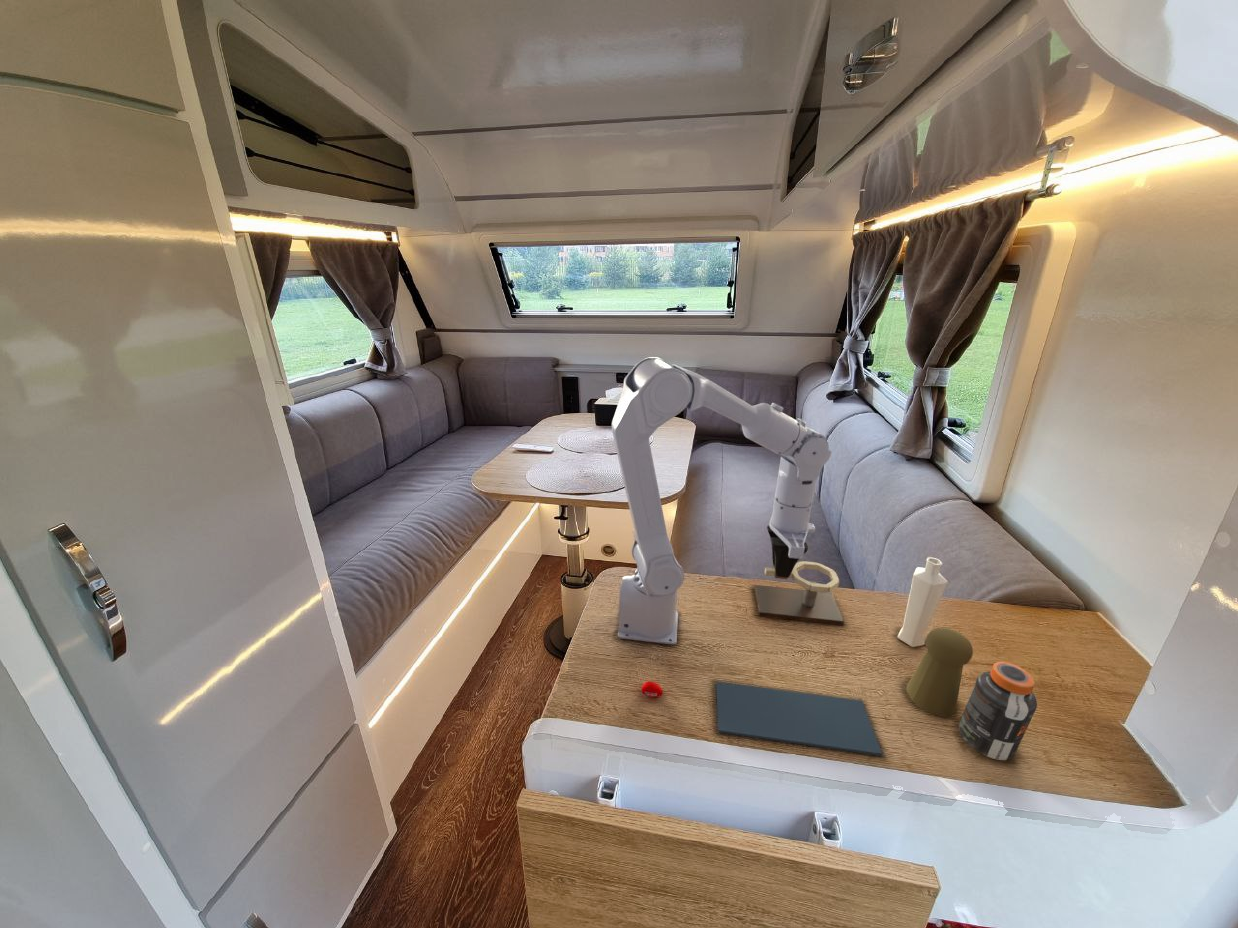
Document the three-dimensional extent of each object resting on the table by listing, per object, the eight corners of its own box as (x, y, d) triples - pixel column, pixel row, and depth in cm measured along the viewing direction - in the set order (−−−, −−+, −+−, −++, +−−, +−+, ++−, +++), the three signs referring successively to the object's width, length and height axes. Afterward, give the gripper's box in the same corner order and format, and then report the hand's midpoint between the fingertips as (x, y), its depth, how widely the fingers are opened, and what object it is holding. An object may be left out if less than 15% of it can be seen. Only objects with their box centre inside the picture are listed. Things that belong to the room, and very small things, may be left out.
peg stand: (759, 615, 82) (762, 592, 80) (754, 587, 90) (757, 565, 88) (843, 625, 80) (849, 601, 79) (831, 595, 88) (836, 573, 86)
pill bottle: (1017, 771, 57) (1050, 701, 53) (958, 746, 60) (985, 678, 56) (1011, 733, 62) (1041, 667, 57) (956, 712, 65) (981, 647, 60)
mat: (718, 732, 61) (718, 730, 61) (715, 683, 69) (716, 681, 68) (882, 756, 59) (882, 753, 58) (861, 702, 66) (862, 700, 66)
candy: (640, 699, 66) (641, 689, 65) (642, 687, 68) (642, 677, 67) (662, 701, 65) (663, 691, 65) (662, 690, 67) (663, 680, 67)
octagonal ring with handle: (830, 568, 83) (833, 552, 82) (842, 594, 76) (846, 577, 75) (762, 562, 85) (764, 546, 83) (768, 586, 78) (770, 570, 77)
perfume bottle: (896, 644, 76) (919, 565, 71) (893, 626, 80) (915, 551, 75) (929, 652, 75) (955, 572, 69) (924, 634, 79) (948, 557, 73)
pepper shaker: (941, 682, 69) (963, 622, 65) (965, 718, 64) (990, 654, 60) (898, 678, 70) (917, 618, 66) (918, 713, 64) (940, 650, 60)
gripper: (831, 523, 68) (815, 600, 73) (809, 483, 82) (796, 550, 87) (781, 519, 69) (768, 596, 74) (767, 480, 82) (757, 547, 88)
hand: (780, 571), depth 81 cm, fingers closed on octagonal ring with handle, 2 cm apart
